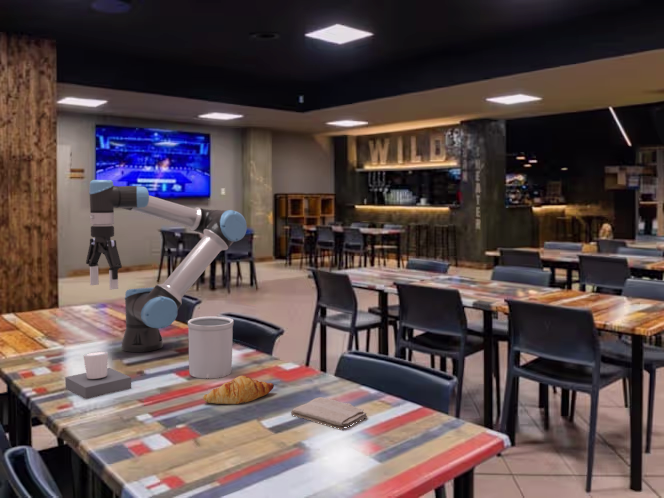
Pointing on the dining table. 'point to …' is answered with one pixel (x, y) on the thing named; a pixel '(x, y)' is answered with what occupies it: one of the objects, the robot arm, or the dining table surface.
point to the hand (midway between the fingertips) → (104, 287)
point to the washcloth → (330, 412)
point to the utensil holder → (210, 346)
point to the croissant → (238, 391)
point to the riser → (98, 384)
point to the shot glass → (96, 364)
